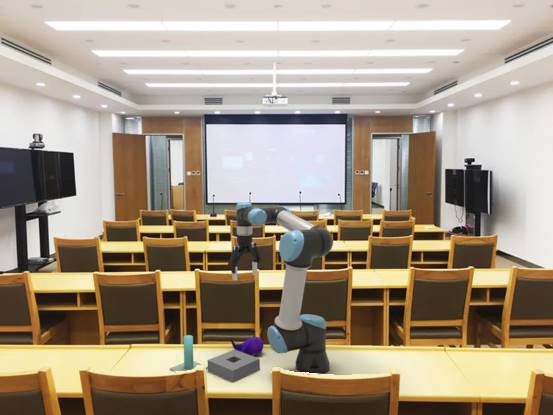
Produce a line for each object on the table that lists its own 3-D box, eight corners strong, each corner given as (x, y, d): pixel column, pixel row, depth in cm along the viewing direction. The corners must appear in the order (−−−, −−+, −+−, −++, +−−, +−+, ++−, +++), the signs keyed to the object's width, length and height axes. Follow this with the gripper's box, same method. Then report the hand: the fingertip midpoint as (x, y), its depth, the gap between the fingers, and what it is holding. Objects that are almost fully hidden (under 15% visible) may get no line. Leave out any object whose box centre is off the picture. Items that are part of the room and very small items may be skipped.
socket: (259, 369, 206) (259, 358, 205) (232, 382, 194) (232, 370, 194) (234, 360, 217) (234, 349, 216) (207, 371, 205) (207, 360, 204)
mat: (208, 368, 207) (208, 367, 207) (186, 377, 199) (186, 376, 199) (191, 361, 215) (191, 359, 215) (169, 369, 207) (169, 368, 207)
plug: (195, 367, 207) (194, 336, 206) (188, 370, 204) (187, 339, 203) (189, 365, 210) (188, 334, 209) (182, 368, 207) (181, 337, 206)
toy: (232, 361, 218) (264, 356, 219) (229, 341, 217) (262, 336, 218) (233, 353, 227) (264, 349, 228) (230, 334, 226) (261, 330, 227)
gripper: (257, 231, 240) (257, 272, 242) (220, 236, 221) (220, 280, 223) (267, 232, 235) (268, 274, 237) (230, 238, 216) (231, 283, 218)
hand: (245, 277), depth 230 cm, fingers open, 13 cm apart
